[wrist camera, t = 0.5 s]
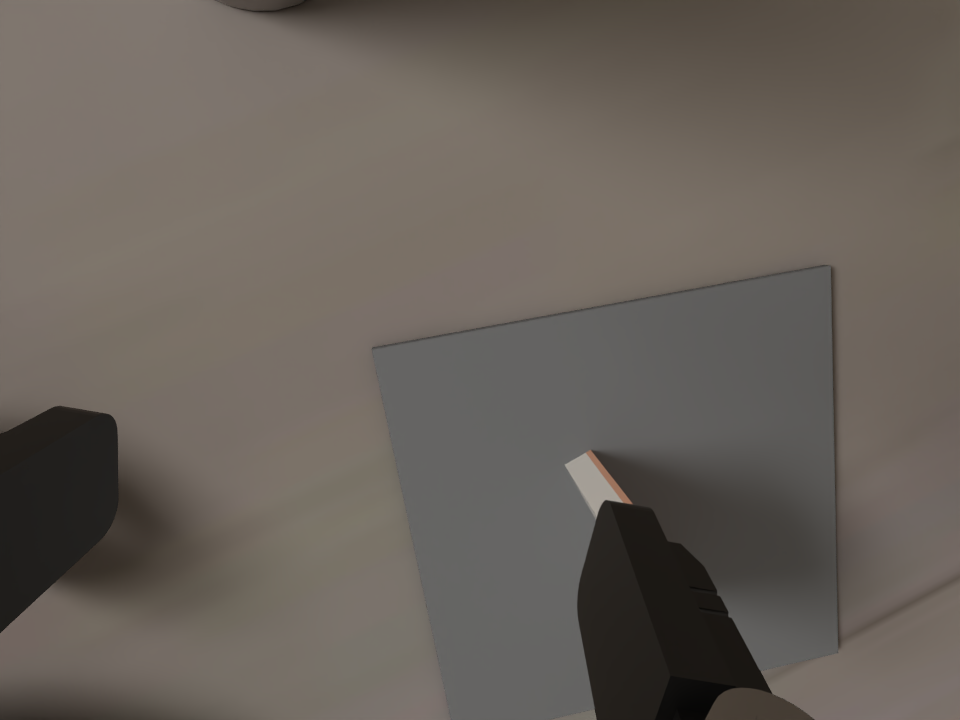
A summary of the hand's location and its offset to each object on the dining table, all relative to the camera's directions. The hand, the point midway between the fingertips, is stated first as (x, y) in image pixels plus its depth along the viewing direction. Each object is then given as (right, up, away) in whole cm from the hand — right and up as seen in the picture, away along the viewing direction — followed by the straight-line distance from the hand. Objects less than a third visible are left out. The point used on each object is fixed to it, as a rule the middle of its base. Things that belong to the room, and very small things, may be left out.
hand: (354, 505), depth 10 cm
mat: (+10, -6, +23) cm, 26 cm away
